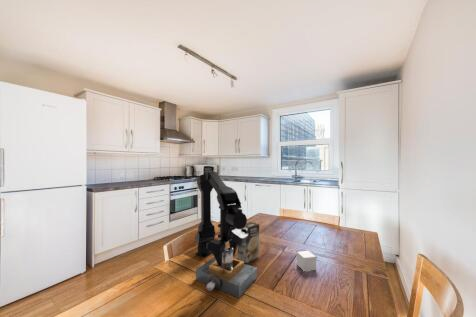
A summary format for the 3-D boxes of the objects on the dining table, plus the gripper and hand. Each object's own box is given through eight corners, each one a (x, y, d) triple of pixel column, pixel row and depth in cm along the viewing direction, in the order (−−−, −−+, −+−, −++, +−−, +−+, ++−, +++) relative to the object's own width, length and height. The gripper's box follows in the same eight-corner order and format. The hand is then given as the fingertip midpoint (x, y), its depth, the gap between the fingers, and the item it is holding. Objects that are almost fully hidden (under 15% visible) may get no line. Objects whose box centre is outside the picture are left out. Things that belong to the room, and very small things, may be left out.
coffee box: (246, 263, 91) (247, 228, 91) (237, 258, 96) (237, 225, 96) (259, 257, 97) (259, 224, 98) (249, 252, 102) (250, 221, 102)
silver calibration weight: (225, 264, 82) (225, 242, 83) (237, 268, 79) (237, 245, 80) (217, 269, 78) (218, 247, 78) (230, 273, 75) (230, 250, 75)
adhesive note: (316, 270, 86) (316, 256, 86) (303, 272, 84) (304, 258, 85) (308, 263, 92) (308, 250, 92) (296, 265, 90) (296, 251, 90)
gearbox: (217, 264, 90) (217, 250, 90) (257, 278, 80) (257, 262, 80) (188, 285, 75) (188, 268, 75) (232, 305, 64) (232, 286, 64)
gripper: (231, 232, 67) (230, 278, 67) (255, 219, 83) (255, 256, 83) (206, 226, 73) (205, 269, 73) (233, 215, 89) (233, 250, 89)
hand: (226, 260), depth 79 cm, fingers open, 9 cm apart
